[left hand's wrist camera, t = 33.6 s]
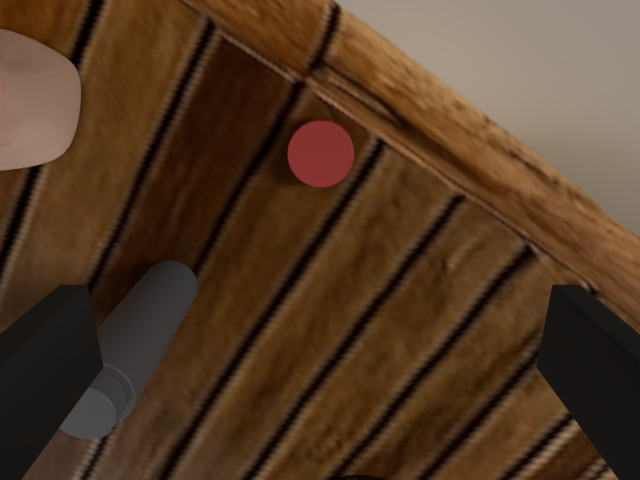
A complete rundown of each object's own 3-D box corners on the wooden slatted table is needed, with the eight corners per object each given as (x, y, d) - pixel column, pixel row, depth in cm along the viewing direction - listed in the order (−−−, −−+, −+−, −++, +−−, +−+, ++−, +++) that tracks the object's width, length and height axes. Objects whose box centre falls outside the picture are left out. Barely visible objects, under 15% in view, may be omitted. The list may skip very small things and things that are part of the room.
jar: (134, 279, 44) (21, 406, 27) (172, 249, 43) (79, 363, 26) (170, 316, 45) (84, 458, 29) (208, 288, 44) (142, 419, 28)
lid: (276, 138, 39) (273, 141, 37) (333, 104, 38) (334, 106, 36) (308, 193, 41) (307, 199, 39) (364, 163, 40) (366, 167, 38)
